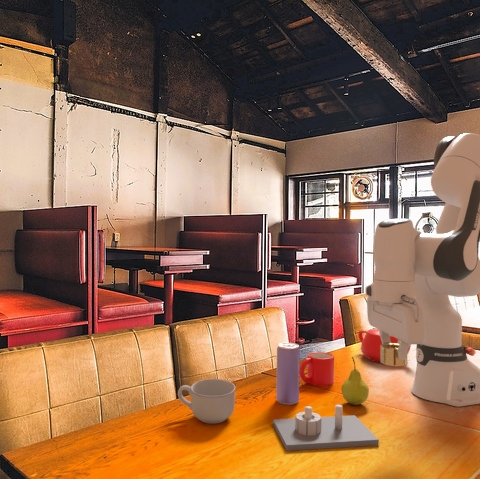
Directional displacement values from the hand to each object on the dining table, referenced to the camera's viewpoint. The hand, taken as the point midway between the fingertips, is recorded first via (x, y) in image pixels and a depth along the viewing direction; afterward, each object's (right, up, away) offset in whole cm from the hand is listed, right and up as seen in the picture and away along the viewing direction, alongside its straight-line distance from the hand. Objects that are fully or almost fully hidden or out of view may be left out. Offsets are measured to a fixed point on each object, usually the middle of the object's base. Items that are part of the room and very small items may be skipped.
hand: (394, 354), depth 105 cm
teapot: (+17, -17, +61) cm, 66 cm away
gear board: (-16, -18, +1) cm, 24 cm away
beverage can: (-22, -18, +20) cm, 34 cm away
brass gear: (0, -2, 0) cm, 2 cm away
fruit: (-4, -18, +19) cm, 26 cm away
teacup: (-42, -18, +9) cm, 47 cm away
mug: (-12, -17, +36) cm, 42 cm away
